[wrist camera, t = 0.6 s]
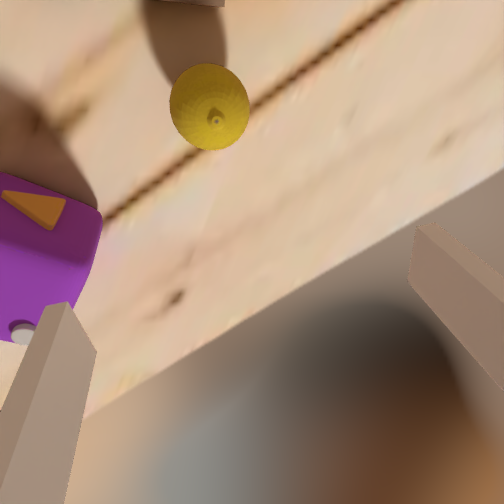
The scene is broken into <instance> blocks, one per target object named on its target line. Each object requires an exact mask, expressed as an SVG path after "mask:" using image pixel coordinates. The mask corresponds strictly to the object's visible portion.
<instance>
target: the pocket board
mask: <svg viewBox="0 0 504 504" xmlns="http://www.w3.org/2000/svg"><path fill="white" fill-rule="evenodd" d="M159 1H168V2H177V3H186V4H195V5H204V6H213V7H224V4H225V0H159Z"/></svg>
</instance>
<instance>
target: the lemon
mask: <svg viewBox="0 0 504 504" xmlns="http://www.w3.org/2000/svg"><path fill="white" fill-rule="evenodd" d="M170 113H171V117H172V120H173V123H174V125H175V127H176V128H177V130H178V132H179V133H180V134H181V135H182V136H183V137H184V138H185V139H186V141H188V142H189V143H191V144H192V145H194V146H196V147H198V148H201V149H205V150H220V149H224V148H226V147H228V146H230V145H232V144H233V143H235V142H236V141H237V140H238V139H239V138H240V137H241V135H242V134H243V133H244V131H245V128H246V126H247V124H248V119H249V113H250V110H249V99H248V96H247V93H246V90H245V88H244V86H243V85H242V83H241V81H240V80H239V79H238V78H237V77H236V76H235V75H234V74H233V73H232V72H231V71H229V70H228V69H226V68H224V67H223V66H220V65H216V64H212V63H202V64H198V65H195V66H192V67H190V68H189V69H187V70H186V71H184V72H183V73H182V74H181V75H180V76H179V77H178V79H177V80H176V82H175V84H174V86H173V88H172V90H171V95H170Z"/></svg>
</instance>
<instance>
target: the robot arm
mask: <svg viewBox="0 0 504 504" xmlns="http://www.w3.org/2000/svg"><path fill="white" fill-rule="evenodd" d="M407 281H408V283H409V284H410V285H411V286H412V287H413V288H414V289H415V291H416V292H417V293H418V294H419V295H420V297H421V298H422V299H423V300H424V301H425V302H426V303H427V305H428V306H429V307H430V308H431V309H432V310H433V311H434V313H436V315H437V316H438V317H439V318H440V319H441V321H442V322H443V323H444V324H445V325H446V326H447V327H448V329H449V330H450V331H451V332H452V333H453V334H454V335H455V336H456V338H457V339H458V340H459V341H460V342H461V344H462V345H463V346H464V347H465V348H466V349H467V350H468V351H469V353H470V354H471V355H472V356H473V357H474V358H475V360H476V361H477V362H478V363H479V364H480V365H481V366H482V368H483V369H484V370H485V371H486V372H487V373H488V374H489V376H490V377H491V378H492V379H493V380H494V381H495V382H496V383H497V384H498V386H499V387H500V388H501V389H502V390H503V392H504V277H502V276H501V275H500V274H499V273H497V272H496V271H495V270H494V269H492V268H491V267H490V266H489V265H487V264H486V263H485V262H484V261H482V260H481V259H480V258H478V257H477V256H476V255H475V254H474V253H472V252H471V251H470V250H469V249H467V248H466V247H465V246H464V245H462V244H461V243H460V242H459V241H458V240H456V239H455V238H454V237H452V236H451V235H450V234H449V233H447V232H446V231H445V230H444V229H443V228H441V227H440V226H439V225H437V224H436V223H431V224H426V225H422V226H417V227H416V232H415V238H414V244H413V250H412V256H411V262H410V268H409V273H408V279H407ZM96 354H97V351H96V350H95V348H94V346H93V344H92V343H91V341H90V339H89V337H88V336H87V334H86V332H85V331H84V329H83V327H82V325H81V324H80V322H79V320H78V318H77V317H76V315H75V313H74V312H73V310H72V308H71V306H70V305H69V303H68V301H67V302H62V303H57V304H53V305H48V306H45V308H44V310H43V313H42V315H41V318H40V320H39V322H38V325H37V327H36V329H35V332H34V334H33V336H32V339H31V341H30V343H29V346H28V348H27V350H26V353H25V355H24V357H23V360H22V362H21V364H20V367H19V369H18V371H17V374H16V376H15V379H14V381H13V383H12V386H11V388H10V390H9V393H8V395H7V397H6V400H5V402H4V404H3V407H2V409H1V411H0V504H64V500H65V496H66V491H67V487H68V482H69V477H70V473H71V468H72V464H73V459H74V455H75V449H76V445H77V441H78V436H79V432H80V427H81V422H82V418H83V413H84V409H85V404H86V399H87V395H88V390H89V386H90V381H91V376H92V372H93V367H94V363H95V358H96Z"/></svg>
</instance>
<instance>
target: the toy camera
mask: <svg viewBox="0 0 504 504" xmlns="http://www.w3.org/2000/svg"><path fill="white" fill-rule="evenodd" d="M101 230H102V216H101V214H100V212H98V211H97V210H96V209H94V208H93V207H91V206H89V205H86V204H84V203H82V202H79V201H77V200H74V199H72V198H69V197H67V196H64V195H62V194H59V193H57V192H54V191H52V190H49V189H46V188H44V187H41V186H39V185H36V184H34V183H31V182H28V181H26V180H23V179H21V178H18V177H15V176H12V175H9V174H6V173H2V172H0V340H3V341H8V342H13V343H17V344H19V345H29V343H30V341H31V339H32V336H33V334H34V332H35V329H36V327H37V325H38V322H39V320H40V318H41V315H42V313H43V310H44V308H45V306H48V305H53V304H57V303H62V302H67V301H68V303H69V305H70V306H71V308H72V310H73V308H74V306H75V304H76V302H77V299H78V297H79V295H80V293H81V291H82V289H83V287H84V285H85V282H86V280H87V278H88V276H89V273H90V270H91V267H92V264H93V261H94V257H95V253H96V250H97V246H98V242H99V239H100V235H101Z"/></svg>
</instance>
